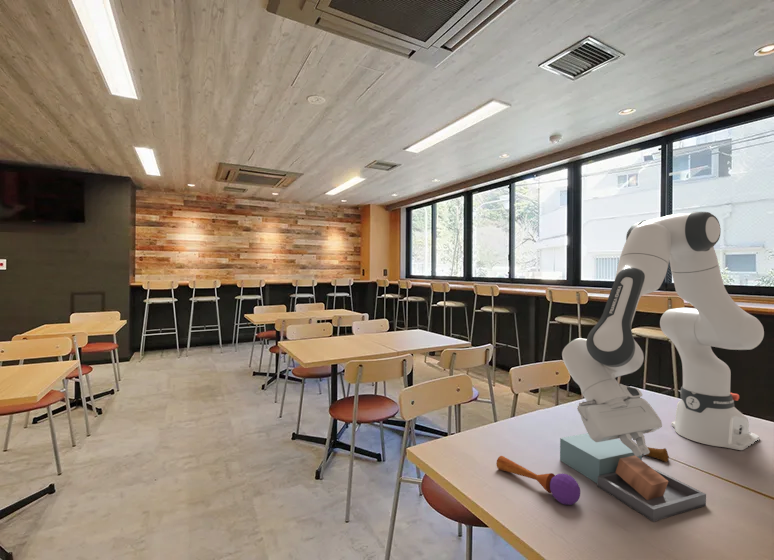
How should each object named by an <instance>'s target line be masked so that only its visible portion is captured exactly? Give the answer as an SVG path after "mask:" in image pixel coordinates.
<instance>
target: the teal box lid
mask: <svg viewBox="0 0 774 560" xmlns="http://www.w3.org/2000/svg"><path fill="white" fill-rule="evenodd" d="M559 445H560V446H559V461H560V462H562V463H563V464H565V465H567V466H568V467H570V468H571V469H573V470H574V471H576V472H578V473H580V474H581V475H583V476H584V477H586V478H587V479H589V480H591V481H593V482H594V483H596V485H598V476H600V475H604V474H609V473H613V472H616V469H617V466H618V463H619V459H620V458H625V457H630V456H634V453H633V452H632V450H631V449H630V448H628V447H627V446H626V445H625V444H623V443H622V441H621V440H620V438H618V439H613V440H607V441H602V442H595V441H594V440H592V439H591V438H590V436H589V434H588V432H586V433H581V434H575V435H570V436H564V437H560V438H559ZM638 458H639V459H641V460H642V461H643V455H642V456H638Z"/></svg>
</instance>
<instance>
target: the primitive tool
mask: <svg viewBox="0 0 774 560" xmlns="http://www.w3.org/2000/svg"><path fill="white" fill-rule="evenodd" d="M647 448H648V449H649V451H650V453H648V454H647V455H643V456H645V457H648V456H649V458H653V459H658V460H660V461H662V462H663V463H667V462H669V458H670V456H669V454H668V451H667V449H666V448H656V447H655V448H654V447H648V446H647Z"/></svg>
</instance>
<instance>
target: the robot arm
mask: <svg viewBox="0 0 774 560" xmlns="http://www.w3.org/2000/svg"><path fill="white" fill-rule="evenodd" d="M721 230H722V229H721V225H720V221H719V218H718V217H717V216H716V215H714V214H712V212H708V211H693V212H688V213H686V212H685V213H675V214H668V215H665V216H661V217H660V216H659V217H656V218H652V219H648V220H641V221H639V222H636V223H633V224H632V225H631V226H630V228H629V229H628V231H627V233H626V237H625V243H624V245H623V248H622V251H621V254H620V257H619V261H618V265H617V267H616V269H617V270H616V274H615V279H614V281H613V284H612V286H611V288H610V289H611V290H610V292H609V294H608V295H609V296H608V298H607V300H606V303H605V306H604V309H603V313H602V314H601V316H600V318H599V320H598V321H597V322H596V324H595V325H594V326H593V327H592V328H591V330H590V331H589V333H588V335H587V338H582V337H579V338H574V339H572V340H571V341H569V342H568V343H567V344H566V345H565V346H564V348H563V349H562V351H561V356H562V361H563V363H564V365H565V367H566V369H567V371H568V373H569V375H570V376H571V378H572V380H573V381H574V382H575V384H577V385H578V387H579V388H580V392H581V394H582V396H583V398H584V399H585V401H579V403H578V405H577V412H578V414H579V415H580V418H581V420H582V423H583V426H584V428H585V430H586V433H588V434H589V436H590V438H591V439H592V440H594V441H595V442H602V441H607V440H613V439H619V440H621V441H622V443H623V444H625V445H626V446H627V447H628V448H630V449H631V450H632V452H633V453H634V455H635V456H637V457H638V456H642V457H643V456H644V455H647V454H648V453H650V451H649V449H648V448H647V447H648V446H647V445H646V443H647V442H646V438H645V435H644V434H649V433H653V432H656V431H657V430H660V429H661V428H662V427H663V423H662V419H661V418H660V417H659V415H658V413H657V412H656V411H655V409H654V408H653V407H652V406H651V405H652V404H650V403H649V402H648V401H647V400H646V399H645V398H643V393H642V391H641V390H640V389H639V388H638V387H637V388H636V387H632V386H629V385H624V384H622V383H619V382H618V380H617V379H616V378H620V377H623V376H627V375H629V374H633V373H636V372H637V371H638V370H639V369H640V368H641V367H642V366H643V363H644V360H645V355H644V351H643V350H642V347H640V345H639V344H638V342H637V341H636V340H635V339H634V335H633V331H632V324H633V322H634V318H635V315H636V312H637V308H638V305H639V302H640V299H641V297H642V296H643V295H647V294H651V293H654V292H656V291H657V290H659V289H660V288H661V287H662V284H663V282H664V280H665V278H666V275H667V271H668V268H669V267H670V271H671V275H672V279H673V285H674V288H675V293H676V294H677V296H678V297H679V298H680V299H682V300H684V301H685V302H687V303H689V304H690V305H691V306H693V307H675V308H669V309H666V311H664V313H663V314H662V315H661V317H660V320H659V327H660V330H661V332H662V333H663V335H665V336H666V337H667V338H668V339H669V340H670V341H671V342H672V344H673V345H674V347H675V348H676V350H677V352H678V354H679V357H680V360H681V366H682V367H681V368H682V386H681V387H680V391H679V392H680V399H681V400H679V401H678V402H677V404H676V410H675V417H674V418H675V419H674V421H671V423H670V425H671V426H672V427H673V428H674V431H675V432H676V434H678V435H679V436H681V437H682V438H685V439H688V440H691V441H692V442H697V443H699V444H700V443H701V444H703V445H706V446H711V447H712V446H713V447H720V448H721V447H722V448H728V449H733V450H736V451H737V450H739V451H744V450H746V449H747V448H749V447H750V446H751V444H752V445H754V444H755V443H756V442H755V441H757V440H758V441H760V440H759V439H761V438H760V436H759V435H758V434H756V433H754V432H752V431H750V428H749V426H750V424H749V422H750V421H749V419H748V417H747V416H746V415H744V414H743V412H741V411H740V410H738V409H737V408H736V407H735V401H739V399H740V395H739V394H738V393H733V392H731V375H732V374H731V369H730V367H729V365H728V364H727V362H724V361H723V360H722V359H720V358H718V356H717V355H716V354H715V353H714V351H713V349H712V347H713V348H714V347H715V348H719V349H725V350H733V351H734V350H735V351H737V350H738V351H747V350H750V351H751V350H753V349H755V348H757V347H758V346H759V345H761V343H762V341H763V339H764V337H765V331H764V326H763V324H762V323H761V320H759V319H758V318H757V317H755V316H754V315H752V314H751V313H748V312H747V311H745V310H744V309H742V308H741V307H740V306H739V305H738V304H737V303H736V302H735V301H734V299H733V298H732V297H731V296H730V293H728V291H727V289H726V286H725V285H724V281H723V278H722V274H721V273H722V272H721V269H720V265H719V261H718V256H717V252H716V250H715V248H714V246H716V244H717V243H718V242H719V240H720V237H721ZM758 441H757V442H758ZM754 442H755V443H754ZM748 446H749V447H748Z"/></svg>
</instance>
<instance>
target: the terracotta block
mask: <svg viewBox="0 0 774 560" xmlns="http://www.w3.org/2000/svg"><path fill="white" fill-rule="evenodd" d="M651 467H652V466H651V465H648V464H647V463H646V462H645V461H643V459H642V460H641V459H639V458H638V457H637V456H635V455H634V456H630V457H625V458H620V459H619V463H618V466H617V469H616V472H615V473H616V474H618V475H619V476H620V477H621V478H622V479H623V480H624V481H626V482H627V483H628V484H629V485H630V486H631V487H633V488H634V489H635V490H636V491H637V492H638V493H639V494H641V495H642V496H643V497H644V498H645V499H646V500H650V499H653V498H657V497H661V496H663V495H664V492H665V490H666V487H667V484H668V480H666V479H665V478H664V477H663V476H661V475H660V474H659V473H657V472H656V471H655V470H654V469H655V468H654V469H652V468H653V467H652V468H651Z"/></svg>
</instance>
